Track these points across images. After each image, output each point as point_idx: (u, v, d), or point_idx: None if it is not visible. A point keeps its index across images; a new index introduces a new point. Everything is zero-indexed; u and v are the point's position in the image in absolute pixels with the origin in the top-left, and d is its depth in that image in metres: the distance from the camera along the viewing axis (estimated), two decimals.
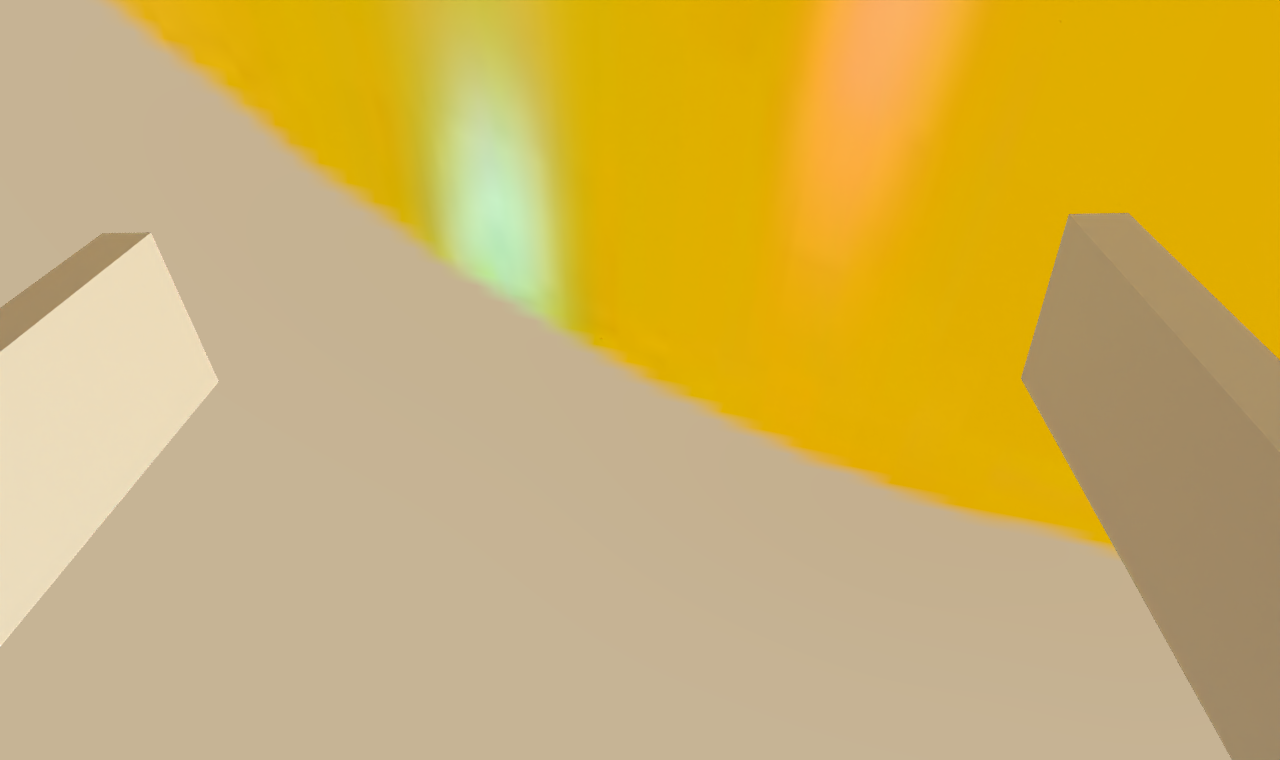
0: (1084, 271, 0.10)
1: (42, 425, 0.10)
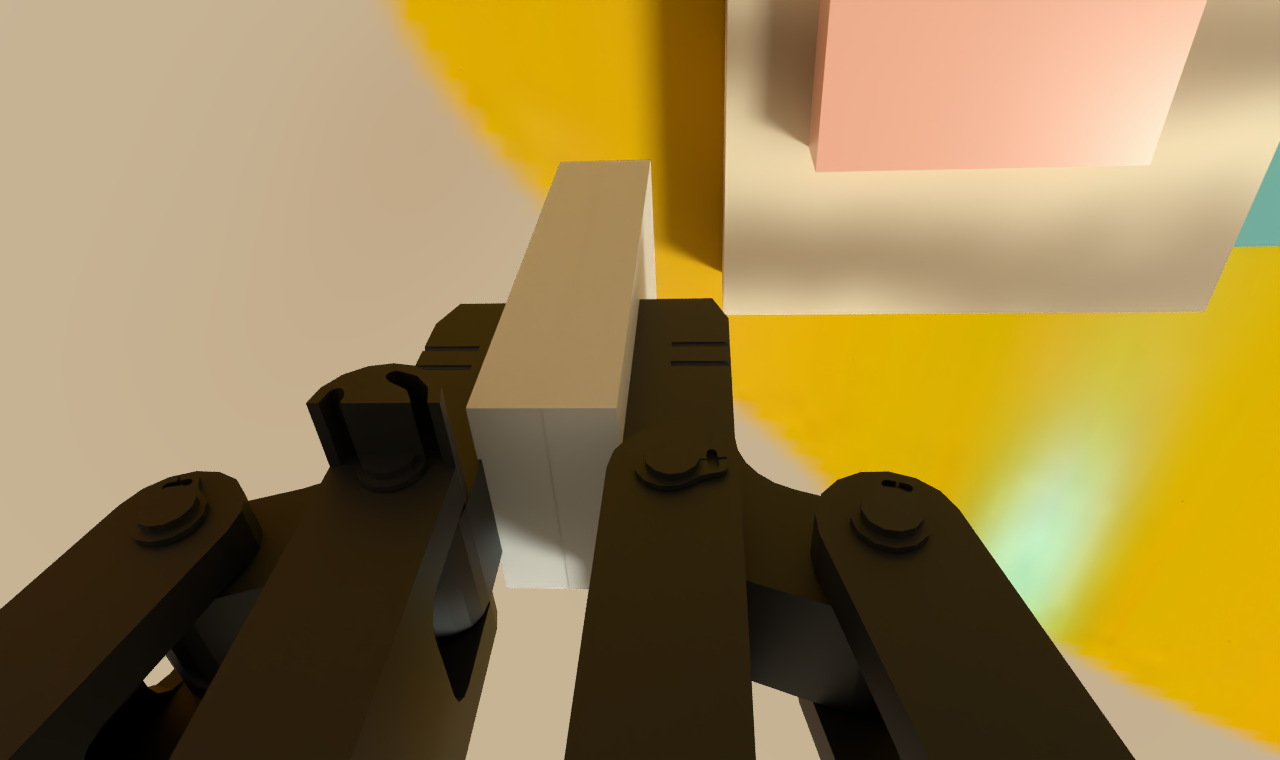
0: None
1: None
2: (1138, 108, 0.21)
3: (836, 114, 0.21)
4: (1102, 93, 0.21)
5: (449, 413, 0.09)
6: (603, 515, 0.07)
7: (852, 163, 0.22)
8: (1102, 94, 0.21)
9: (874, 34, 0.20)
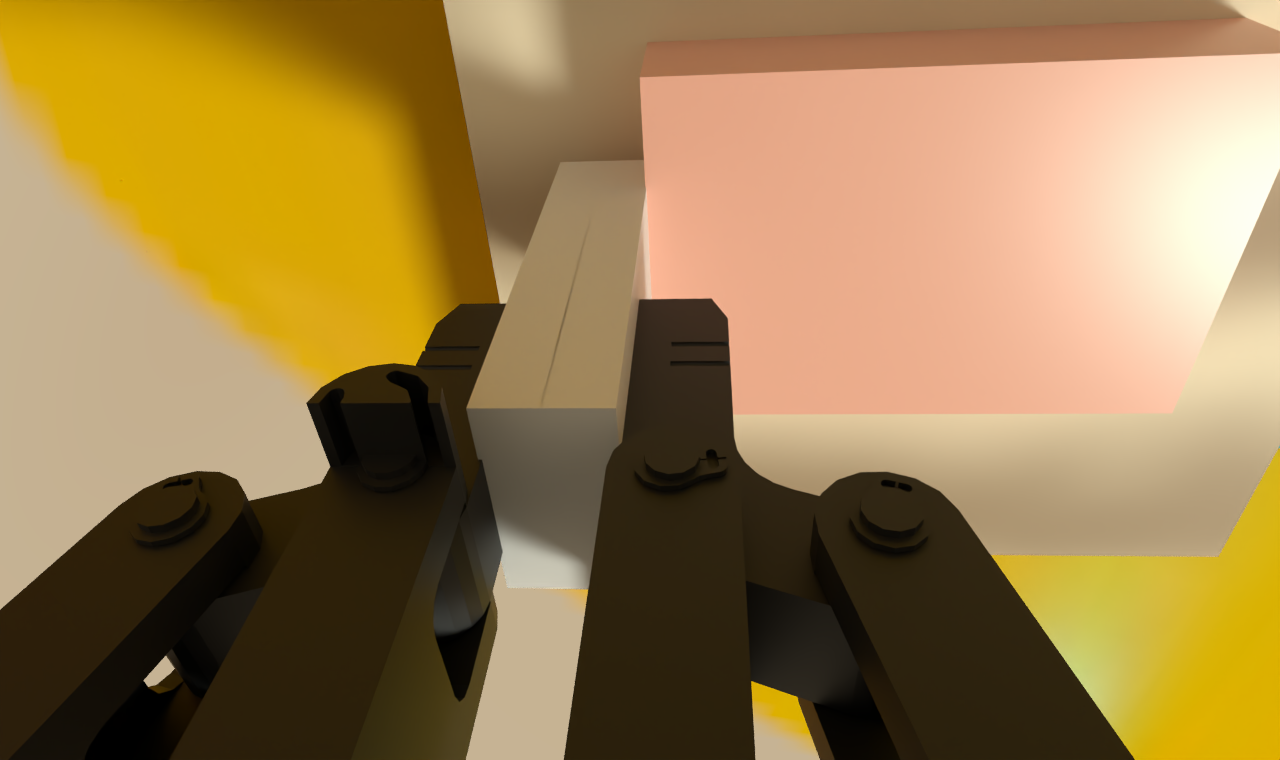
0: None
1: None
2: (1154, 339, 0.13)
3: None
4: (1097, 317, 0.13)
5: (449, 413, 0.09)
6: (603, 515, 0.07)
7: None
8: (1097, 319, 0.13)
9: (723, 231, 0.12)
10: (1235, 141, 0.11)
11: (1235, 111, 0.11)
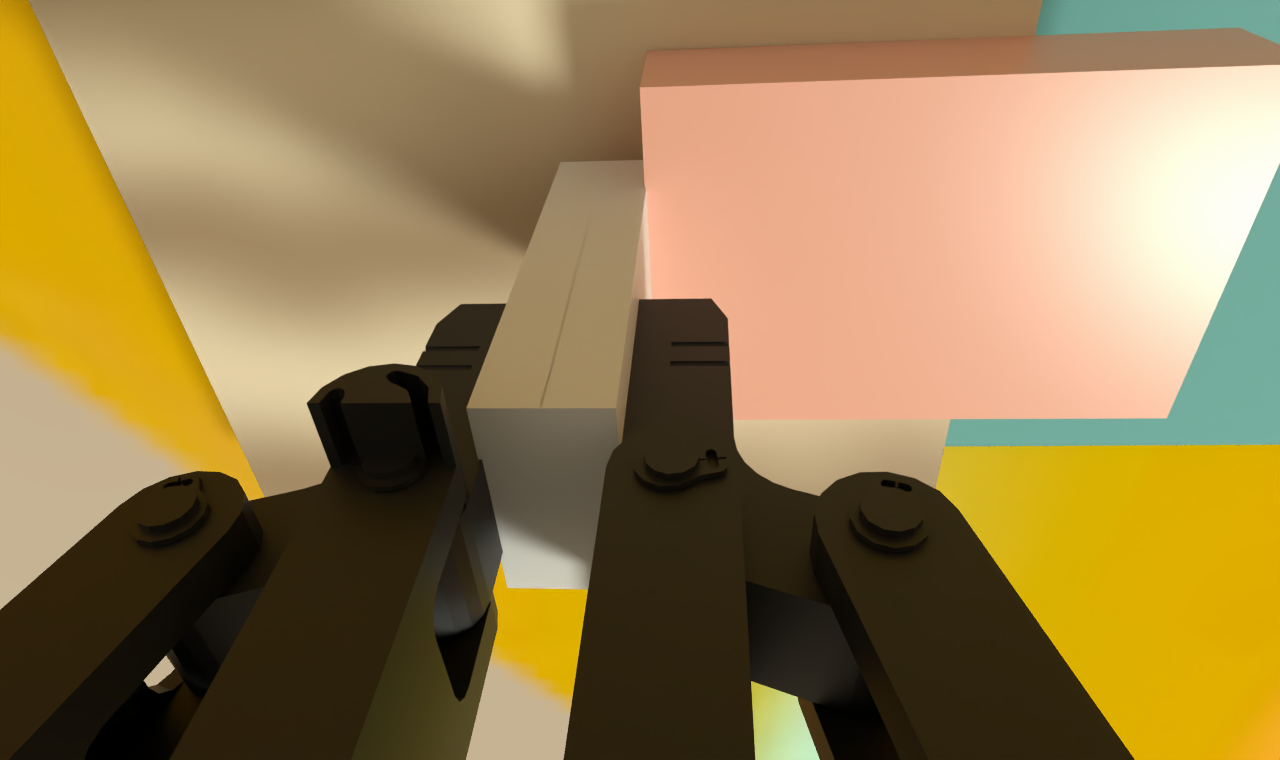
0: None
1: None
2: (1148, 344, 0.13)
3: None
4: (1092, 324, 0.13)
5: (449, 413, 0.09)
6: (603, 515, 0.07)
7: None
8: (1093, 326, 0.13)
9: (722, 239, 0.12)
10: (1229, 151, 0.11)
11: (1230, 122, 0.11)
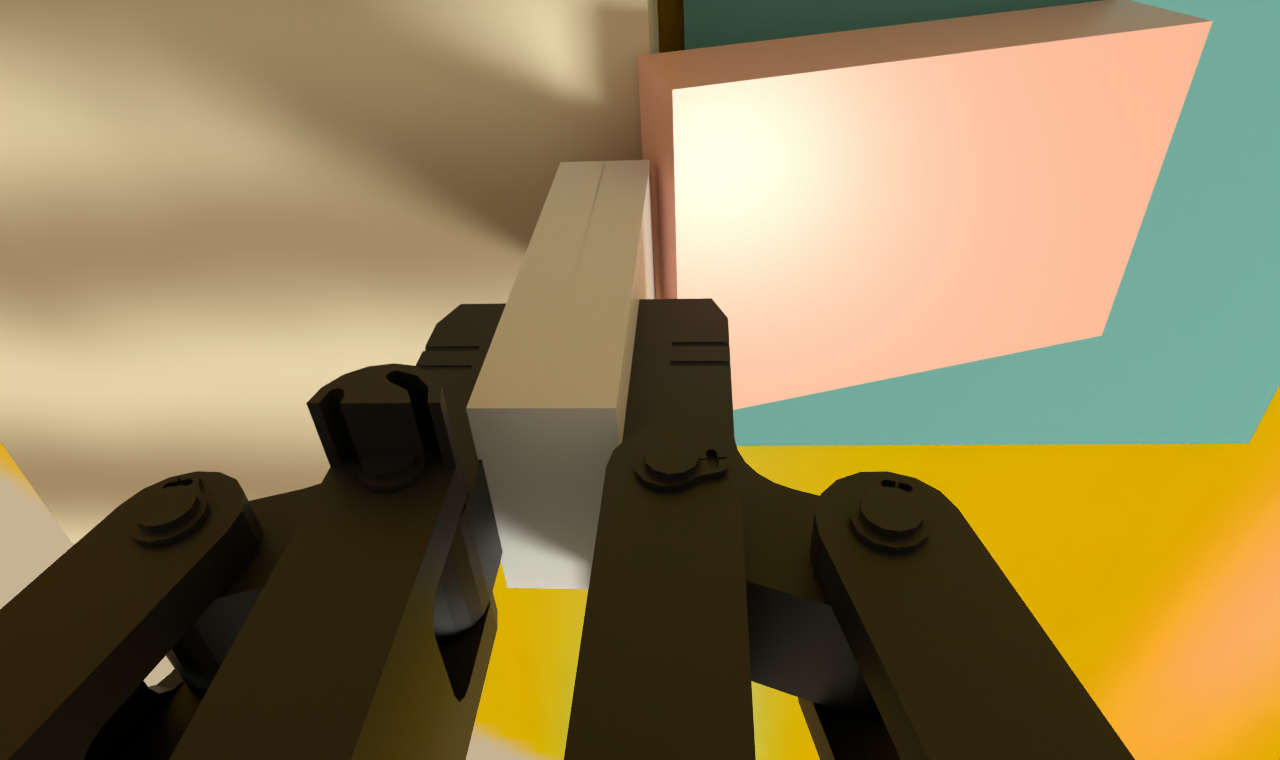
0: None
1: None
2: (1090, 274, 0.15)
3: None
4: (1049, 263, 0.15)
5: (449, 413, 0.09)
6: (603, 515, 0.07)
7: None
8: (1049, 264, 0.15)
9: (746, 231, 0.13)
10: (1149, 100, 0.13)
11: (1149, 75, 0.13)
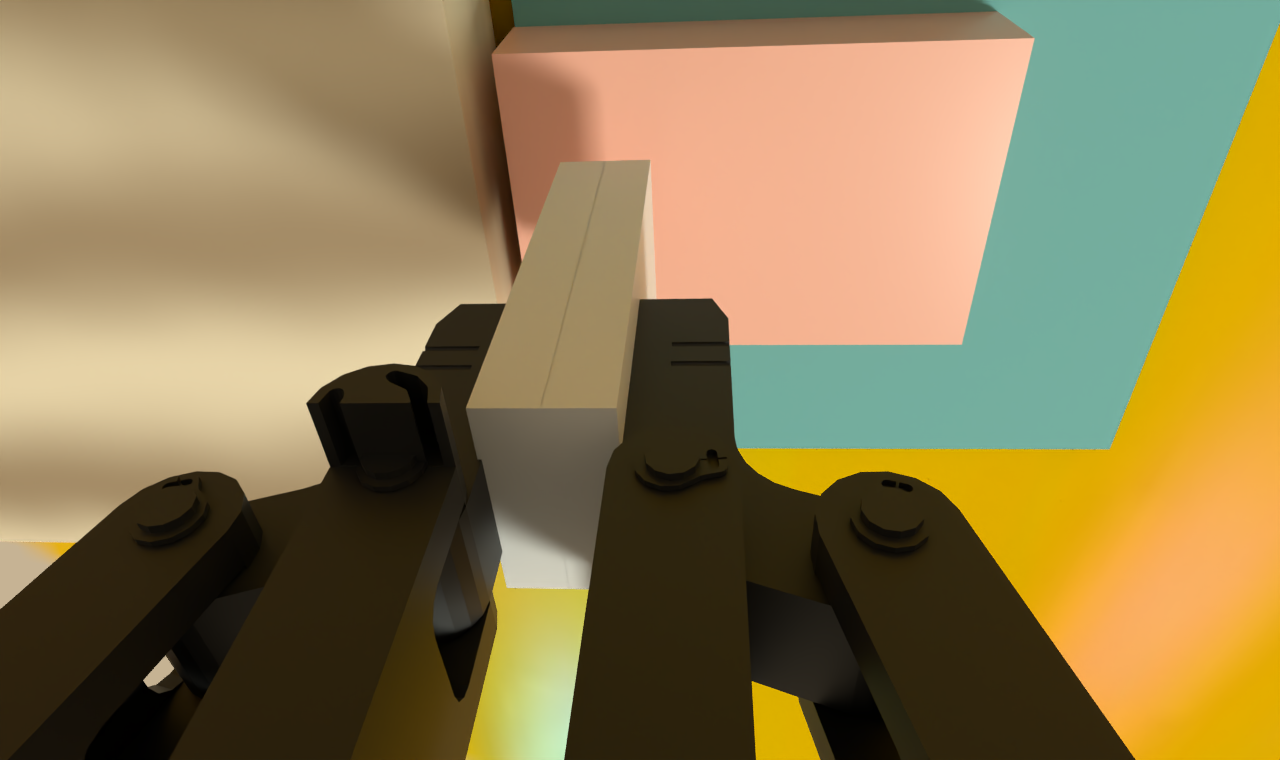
0: None
1: None
2: (936, 278, 0.16)
3: None
4: (886, 260, 0.15)
5: (449, 413, 0.09)
6: (603, 515, 0.07)
7: None
8: (887, 262, 0.15)
9: None
10: (972, 111, 0.14)
11: (969, 86, 0.13)
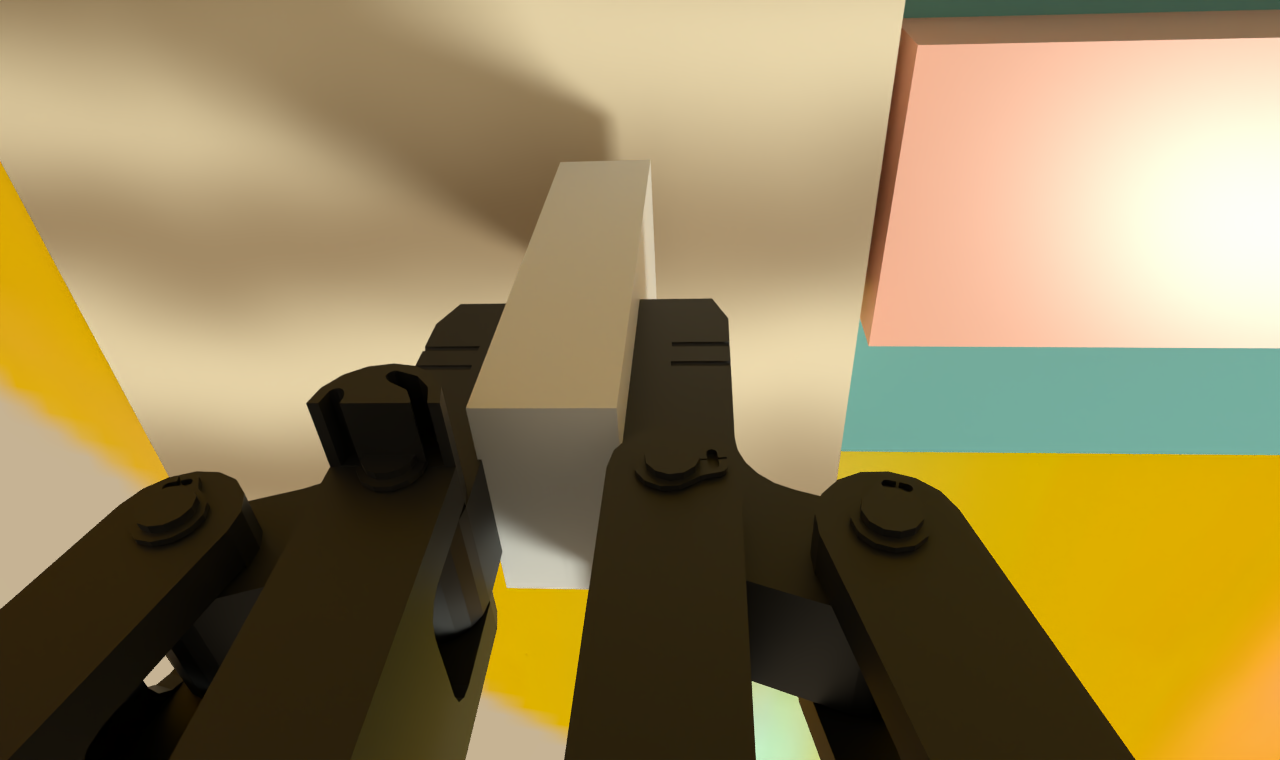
0: None
1: None
2: None
3: (901, 278, 0.16)
4: (1268, 261, 0.15)
5: (449, 413, 0.09)
6: (603, 515, 0.07)
7: (919, 337, 0.16)
8: (1269, 263, 0.15)
9: (961, 180, 0.14)
10: None
11: None
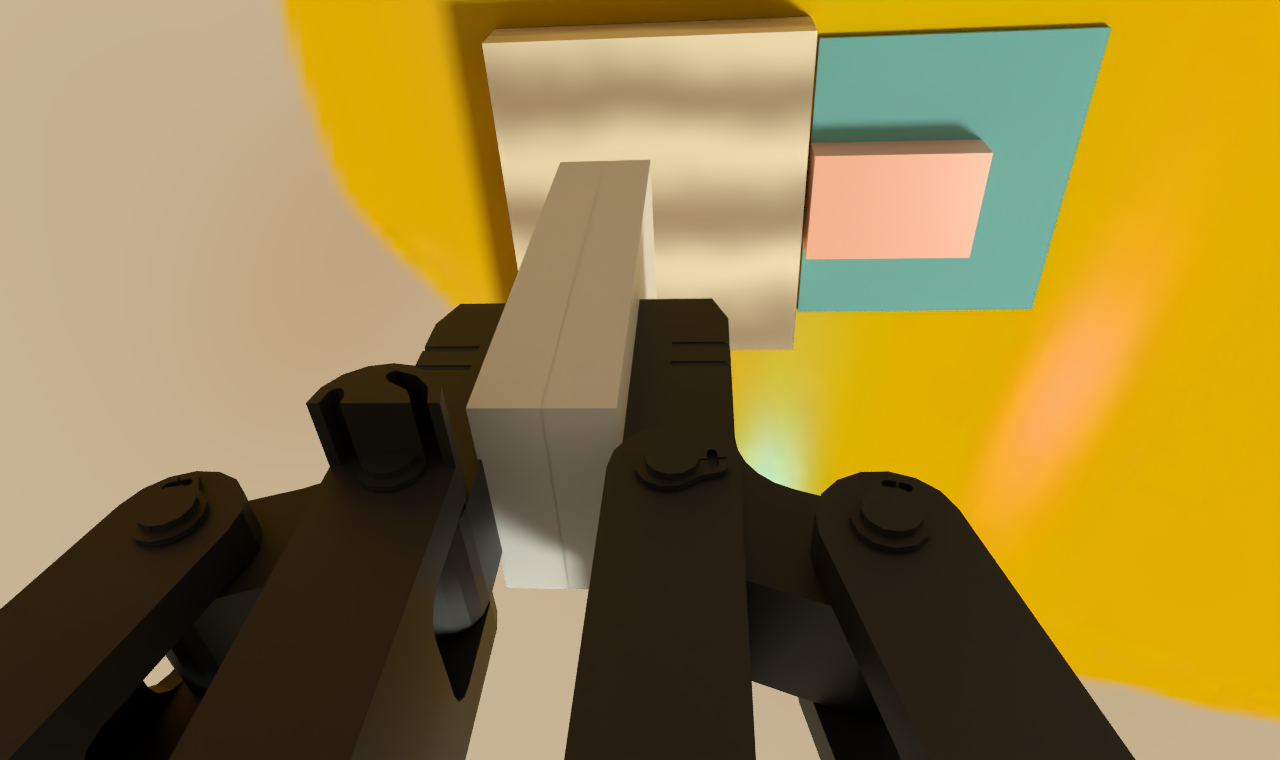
0: None
1: None
2: (960, 232, 0.43)
3: (815, 233, 0.44)
4: (942, 225, 0.43)
5: (449, 413, 0.09)
6: (603, 515, 0.07)
7: (824, 255, 0.44)
8: (942, 226, 0.43)
9: (833, 198, 0.42)
10: (973, 174, 0.41)
11: (972, 167, 0.41)
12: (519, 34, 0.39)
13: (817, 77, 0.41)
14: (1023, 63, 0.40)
